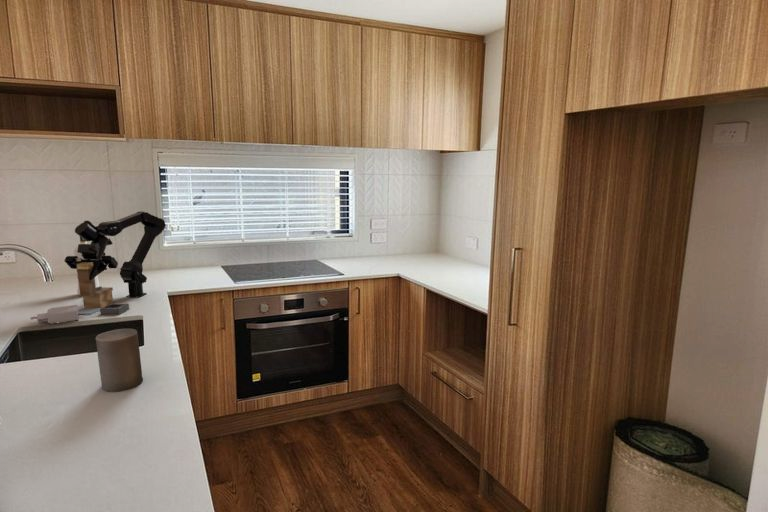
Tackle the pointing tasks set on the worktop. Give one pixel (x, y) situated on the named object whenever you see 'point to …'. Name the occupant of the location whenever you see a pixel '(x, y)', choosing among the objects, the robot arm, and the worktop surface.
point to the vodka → (83, 258)
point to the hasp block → (114, 309)
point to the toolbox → (99, 298)
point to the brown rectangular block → (86, 279)
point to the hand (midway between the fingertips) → (84, 279)
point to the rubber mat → (88, 310)
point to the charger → (59, 314)
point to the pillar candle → (119, 359)
